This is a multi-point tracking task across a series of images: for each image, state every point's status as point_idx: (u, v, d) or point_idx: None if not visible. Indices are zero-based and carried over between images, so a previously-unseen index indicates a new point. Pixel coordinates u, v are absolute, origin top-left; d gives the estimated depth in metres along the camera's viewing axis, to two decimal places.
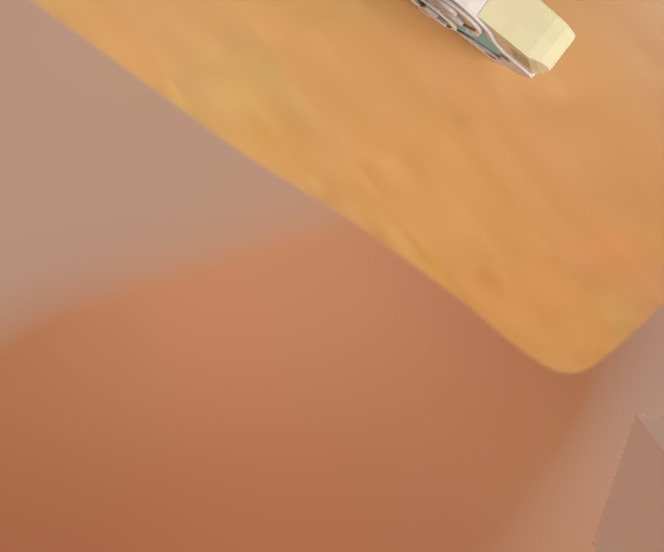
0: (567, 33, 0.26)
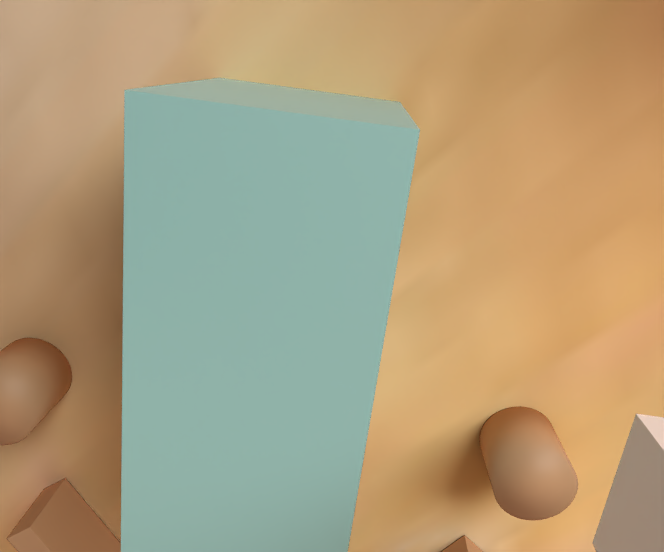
0: None
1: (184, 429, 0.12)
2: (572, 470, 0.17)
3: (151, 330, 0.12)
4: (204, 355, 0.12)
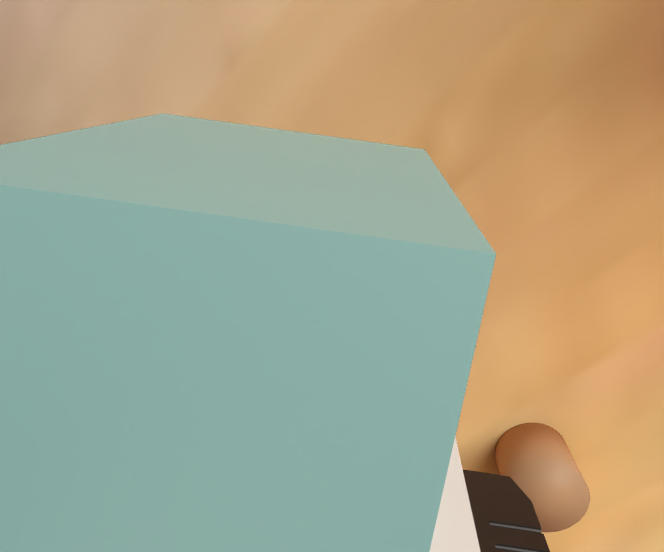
0: None
1: None
2: (584, 484, 0.18)
3: None
4: None
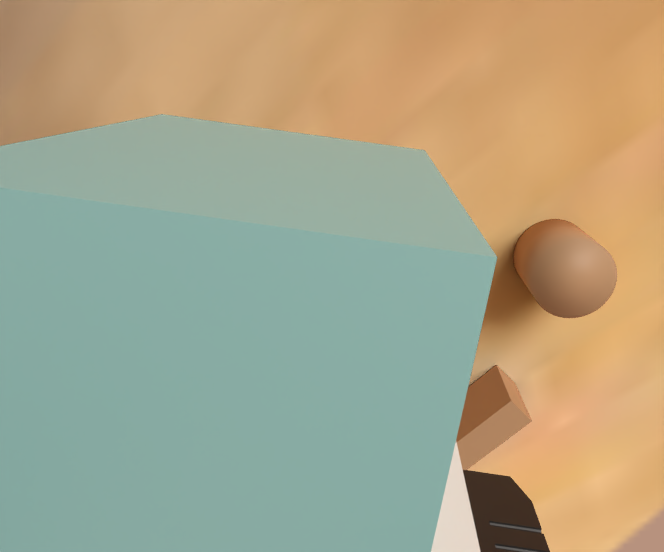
0: None
1: None
2: (611, 259, 0.17)
3: None
4: None
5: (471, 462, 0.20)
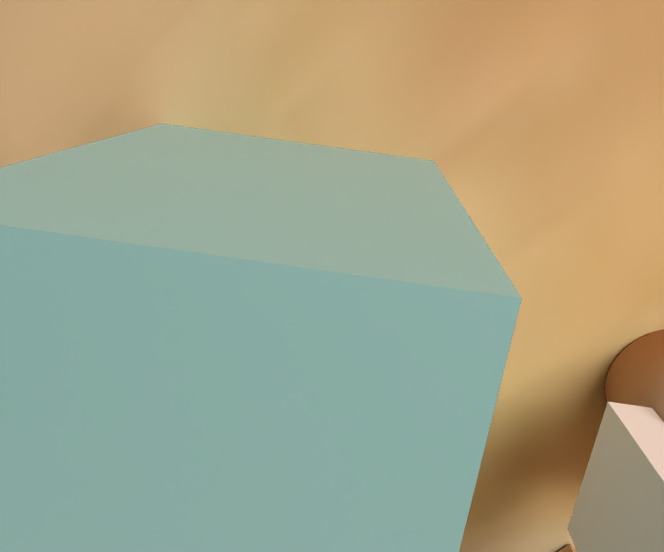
0: None
1: None
2: None
3: None
4: None
5: None
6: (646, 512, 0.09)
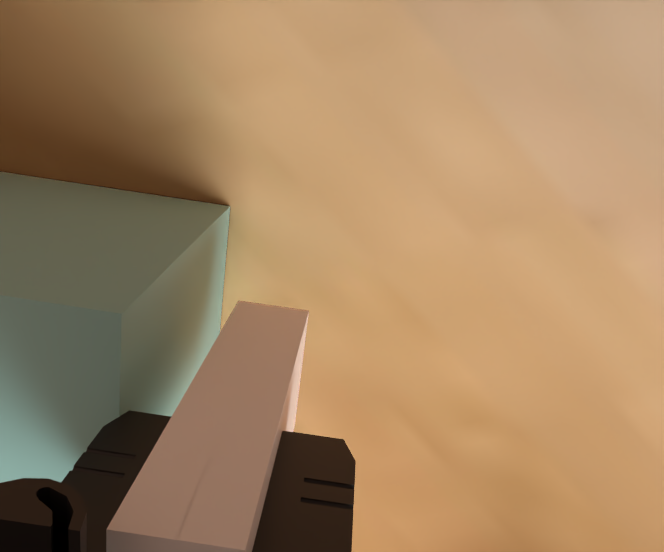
0: None
1: None
2: None
3: None
4: None
5: None
6: None
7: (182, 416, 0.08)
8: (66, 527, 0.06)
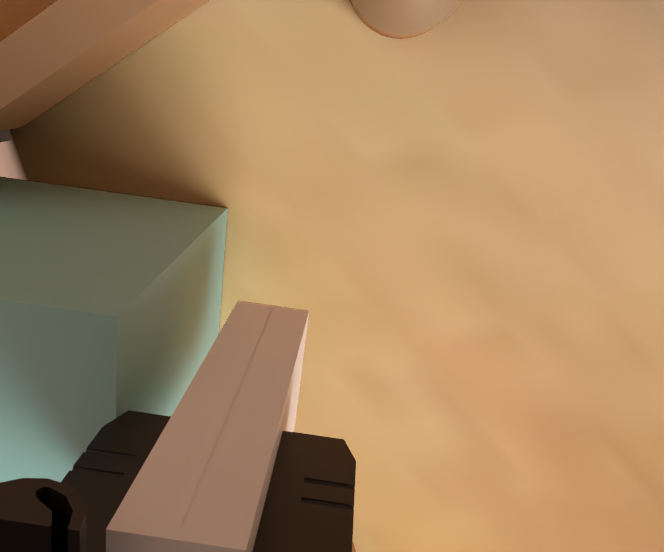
0: None
1: None
2: None
3: None
4: None
5: None
6: None
7: (182, 416, 0.08)
8: (65, 526, 0.06)
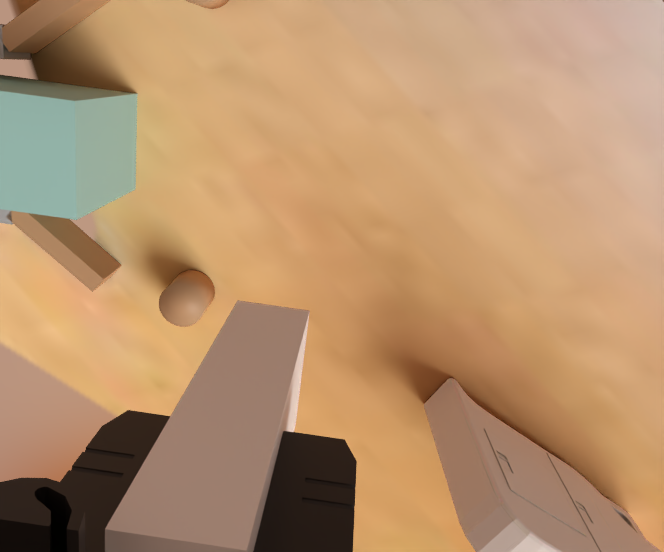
0: None
1: None
2: (194, 323, 0.33)
3: None
4: None
5: (57, 259, 0.32)
6: None
7: (181, 416, 0.08)
8: (65, 527, 0.06)
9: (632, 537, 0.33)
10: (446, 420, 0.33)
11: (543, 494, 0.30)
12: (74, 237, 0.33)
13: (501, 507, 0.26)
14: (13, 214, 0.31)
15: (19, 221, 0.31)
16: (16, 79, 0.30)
